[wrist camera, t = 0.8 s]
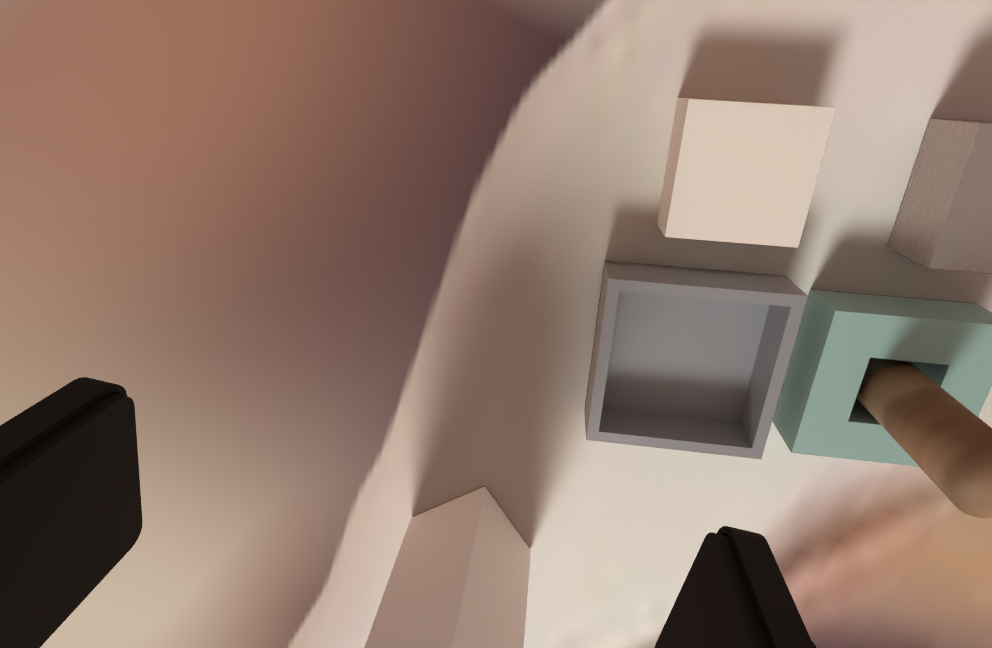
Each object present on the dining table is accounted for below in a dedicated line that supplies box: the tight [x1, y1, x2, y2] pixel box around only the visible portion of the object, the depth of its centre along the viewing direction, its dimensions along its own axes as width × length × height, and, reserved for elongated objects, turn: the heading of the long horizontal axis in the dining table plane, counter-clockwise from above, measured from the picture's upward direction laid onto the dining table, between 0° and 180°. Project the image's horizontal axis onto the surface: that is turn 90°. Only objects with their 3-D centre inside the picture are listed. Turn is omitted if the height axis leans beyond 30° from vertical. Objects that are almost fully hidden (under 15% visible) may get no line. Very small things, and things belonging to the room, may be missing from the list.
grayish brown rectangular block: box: [888, 119, 992, 273], centre depth 25 cm, size 3×6×4 cm, turn 177°
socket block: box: [773, 290, 992, 467], centre depth 29 cm, size 8×8×3 cm
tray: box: [585, 261, 808, 459], centre depth 30 cm, size 9×9×3 cm
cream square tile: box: [657, 98, 836, 248], centre depth 27 cm, size 6×6×3 cm
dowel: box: [856, 358, 992, 518], centre depth 26 cm, size 3×3×10 cm
